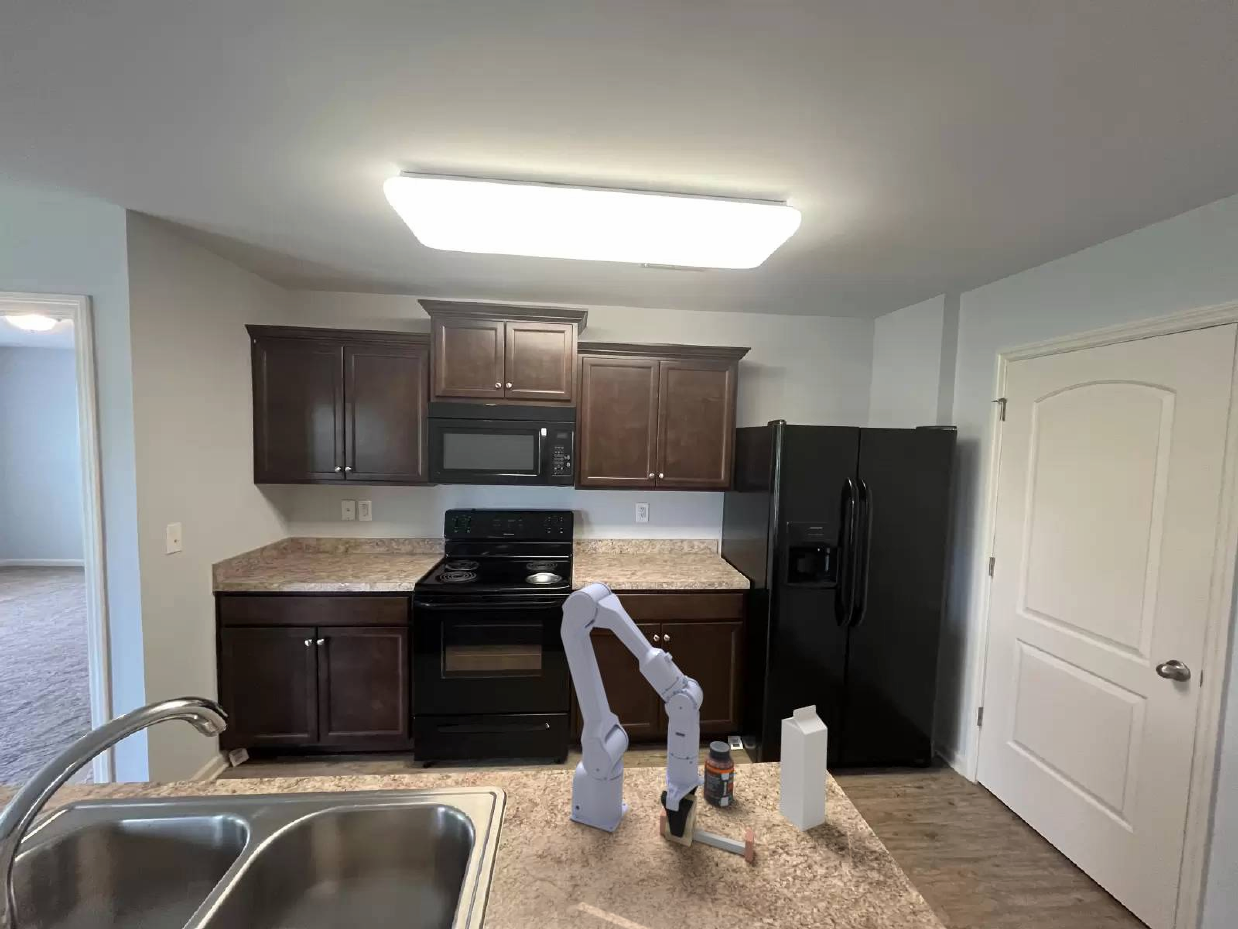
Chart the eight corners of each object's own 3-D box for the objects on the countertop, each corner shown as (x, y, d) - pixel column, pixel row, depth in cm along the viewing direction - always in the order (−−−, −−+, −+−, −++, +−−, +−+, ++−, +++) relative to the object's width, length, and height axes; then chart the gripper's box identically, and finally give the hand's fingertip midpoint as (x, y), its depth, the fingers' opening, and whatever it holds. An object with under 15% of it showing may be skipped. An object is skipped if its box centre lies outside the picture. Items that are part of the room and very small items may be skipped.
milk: (778, 816, 97) (781, 703, 97) (801, 807, 100) (803, 698, 100) (802, 837, 91) (805, 717, 92) (825, 827, 94) (828, 711, 95)
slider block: (665, 839, 89) (666, 805, 89) (672, 821, 93) (673, 789, 93) (690, 846, 87) (691, 812, 87) (695, 828, 91) (697, 795, 92)
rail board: (653, 849, 87) (653, 825, 87) (666, 816, 96) (667, 795, 96) (751, 881, 81) (752, 855, 81) (756, 843, 89) (757, 820, 90)
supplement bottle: (733, 814, 97) (735, 756, 97) (702, 809, 98) (704, 752, 98) (732, 795, 103) (734, 740, 103) (703, 790, 104) (705, 736, 104)
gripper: (696, 778, 82) (693, 861, 82) (712, 736, 96) (709, 806, 95) (655, 768, 85) (652, 847, 84) (676, 728, 98) (674, 796, 98)
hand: (680, 825), depth 90 cm, fingers closed on slider block, 5 cm apart
